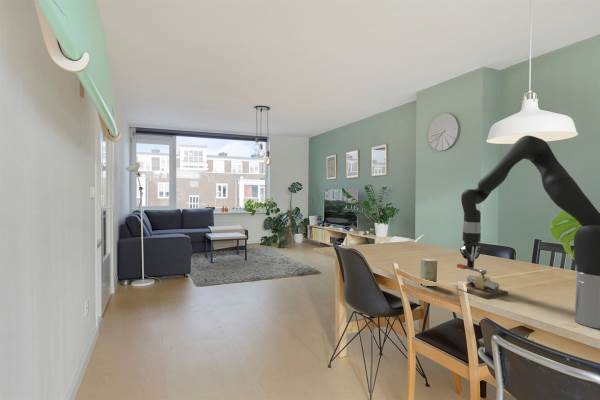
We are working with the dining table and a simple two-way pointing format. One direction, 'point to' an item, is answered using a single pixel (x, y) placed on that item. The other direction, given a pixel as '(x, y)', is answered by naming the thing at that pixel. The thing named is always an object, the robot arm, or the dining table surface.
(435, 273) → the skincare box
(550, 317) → the dining table surface
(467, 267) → the lever
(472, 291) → the mounting board
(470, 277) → the valve
